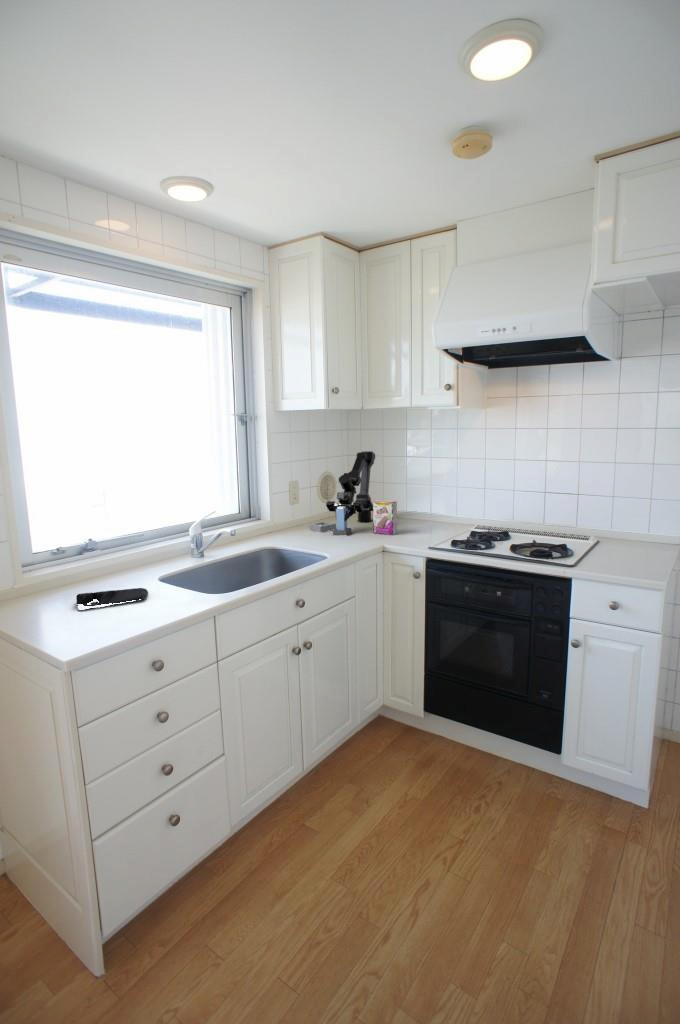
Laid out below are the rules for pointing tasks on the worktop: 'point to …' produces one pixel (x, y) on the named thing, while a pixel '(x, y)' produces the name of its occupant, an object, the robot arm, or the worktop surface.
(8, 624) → the worktop surface
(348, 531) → the holster
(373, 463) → the robot arm
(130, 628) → the worktop surface
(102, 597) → the dark slate chunk
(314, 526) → the port
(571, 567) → the worktop surface
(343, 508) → the light blue tall block
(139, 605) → the worktop surface
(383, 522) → the candy bar box
